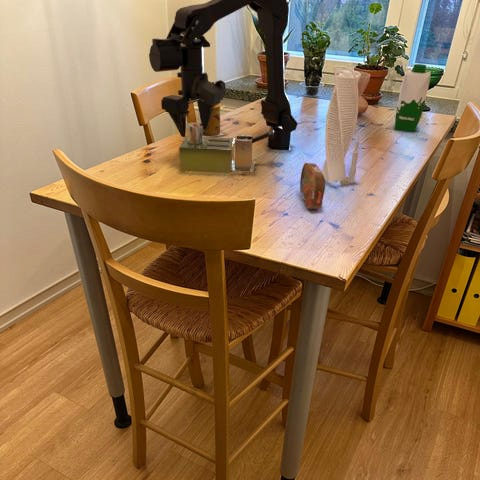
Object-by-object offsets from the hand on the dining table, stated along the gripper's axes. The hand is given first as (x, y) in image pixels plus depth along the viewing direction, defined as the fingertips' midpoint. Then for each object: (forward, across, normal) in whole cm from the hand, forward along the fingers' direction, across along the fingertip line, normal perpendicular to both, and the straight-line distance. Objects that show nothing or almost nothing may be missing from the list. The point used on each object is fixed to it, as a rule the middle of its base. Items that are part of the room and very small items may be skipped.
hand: (194, 132), depth 126 cm
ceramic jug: (+9, +82, -10) cm, 83 cm away
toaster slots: (+2, +3, -6) cm, 7 cm away
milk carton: (+9, +77, -35) cm, 85 cm away
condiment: (+10, +28, +16) cm, 34 cm away
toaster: (+9, +2, -3) cm, 10 cm away
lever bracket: (+9, +7, -12) cm, 17 cm away
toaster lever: (+2, +9, -15) cm, 18 cm away
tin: (+10, -1, -37) cm, 39 cm away
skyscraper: (+10, +15, -36) cm, 40 cm away
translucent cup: (+2, 0, 0) cm, 2 cm away
